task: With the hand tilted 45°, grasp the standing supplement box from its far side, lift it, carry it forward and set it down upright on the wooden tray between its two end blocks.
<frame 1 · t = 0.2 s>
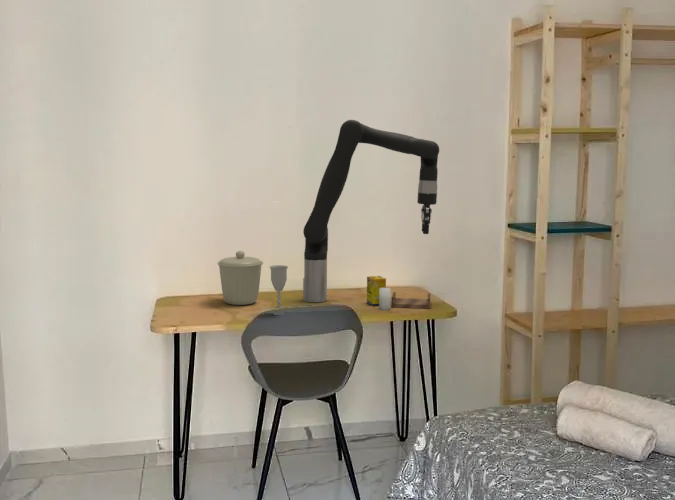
hand: (425, 232, 302), 29 cm above the table, tool pointing down, fingers open, 8 cm apart
supplement box: (376, 304, 304), on the table
wooden tray: (411, 305, 303), on the table
chalice: (278, 314, 286), on the table
white rounded capsule: (384, 308, 296), on the table
canister: (240, 303, 305), on the table
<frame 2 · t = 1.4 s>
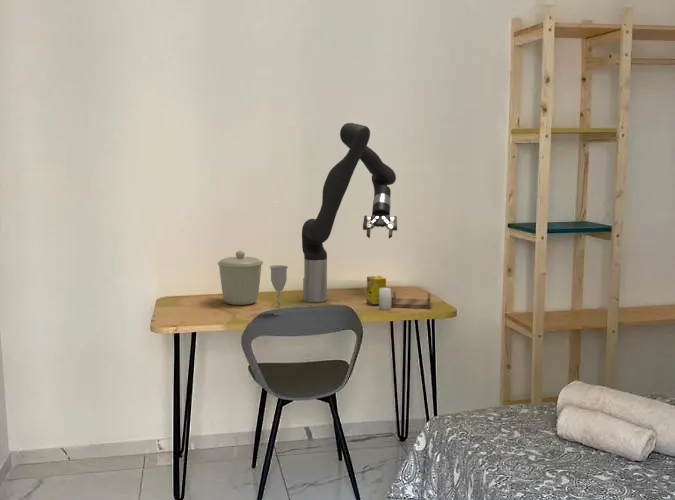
hand: (379, 237, 314), 25 cm above the table, tool tilted 45°, fingers open, 8 cm apart
nothing on the table moved.
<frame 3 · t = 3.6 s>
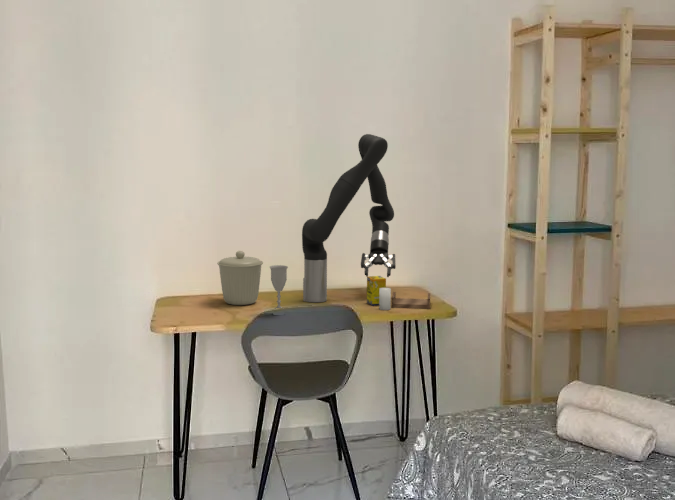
hand: (377, 275, 308), 10 cm above the table, tool tilted 45°, fingers open, 8 cm apart
nothing on the table moved.
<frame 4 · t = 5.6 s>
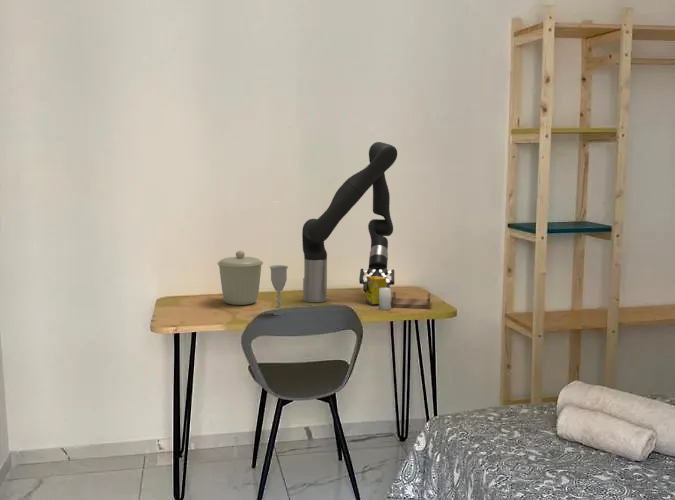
hand: (376, 291, 302), 5 cm above the table, tool tilted 45°, fingers closed on supplement box, 8 cm apart
supplement box: (376, 304, 304), on the table, touching gripper
everything else where it was.
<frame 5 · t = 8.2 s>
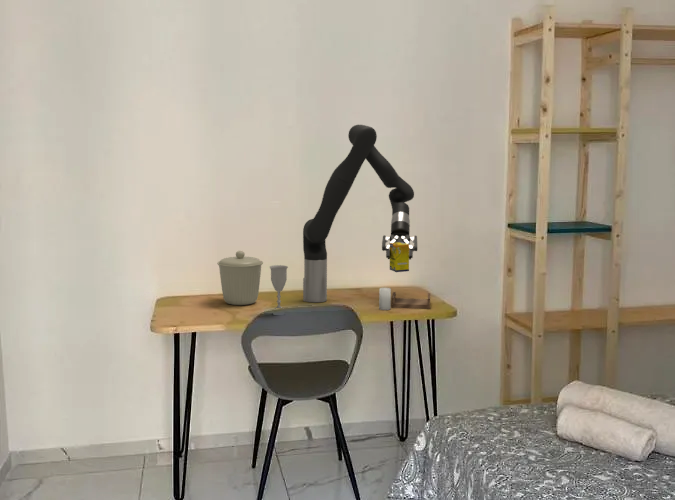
hand: (399, 258, 300), 19 cm above the table, tool tilted 45°, fingers closed on supplement box, 8 cm apart
supplement box: (399, 271, 302), point 14 cm above the table, touching gripper
everything else where it was.
when the fingers open (8 cm above the table, at t = 11.2 s): supplement box drops 2 cm, resting on wooden tray.
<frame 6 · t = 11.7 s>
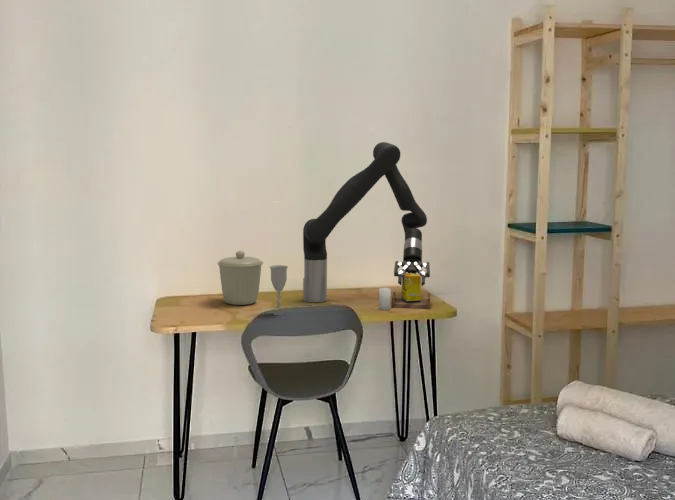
hand: (411, 284, 300), 9 cm above the table, tool tilted 45°, fingers open, 8 cm apart
supplement box: (410, 301, 303), point 1 cm above the table, touching wooden tray
everything else where it was.
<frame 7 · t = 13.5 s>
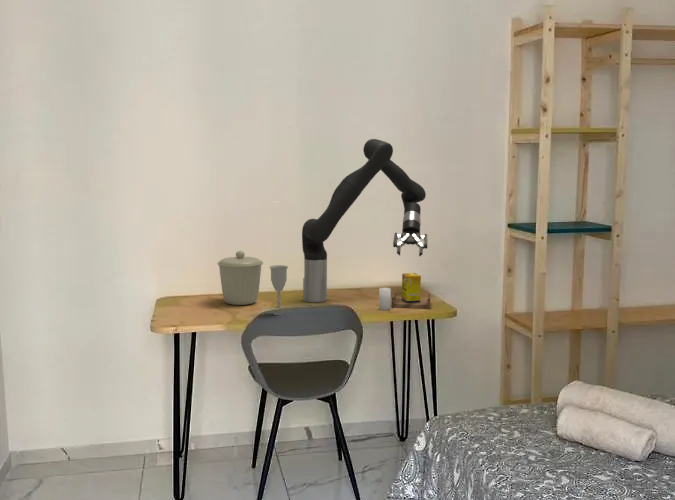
hand: (409, 254, 314), 18 cm above the table, tool tilted 45°, fingers open, 8 cm apart
nothing on the table moved.
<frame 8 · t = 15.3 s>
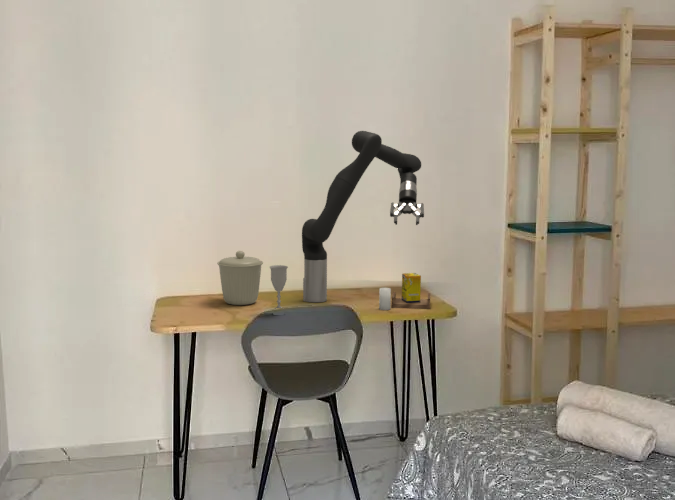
hand: (406, 223, 316), 31 cm above the table, tool tilted 45°, fingers open, 8 cm apart
nothing on the table moved.
at the end: supplement box inside the target area on the wooden tray (0.4 cm from its centre), point 1.3 cm above the wooden tray's base; supplement box tilted 0°; the gripper is holding nothing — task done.
